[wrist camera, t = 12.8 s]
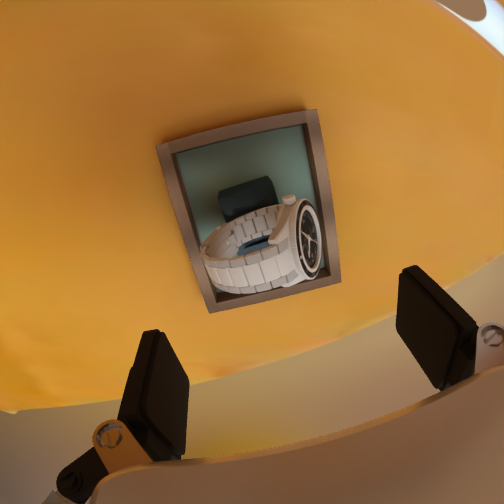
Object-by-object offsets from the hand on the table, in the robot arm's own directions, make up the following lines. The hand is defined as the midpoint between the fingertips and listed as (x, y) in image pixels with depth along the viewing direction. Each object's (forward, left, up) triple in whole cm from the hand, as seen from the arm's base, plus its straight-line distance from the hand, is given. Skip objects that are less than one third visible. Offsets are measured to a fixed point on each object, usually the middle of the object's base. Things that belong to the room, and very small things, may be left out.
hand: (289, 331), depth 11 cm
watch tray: (0, 0, -18) cm, 18 cm away
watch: (0, 0, -17) cm, 17 cm away
